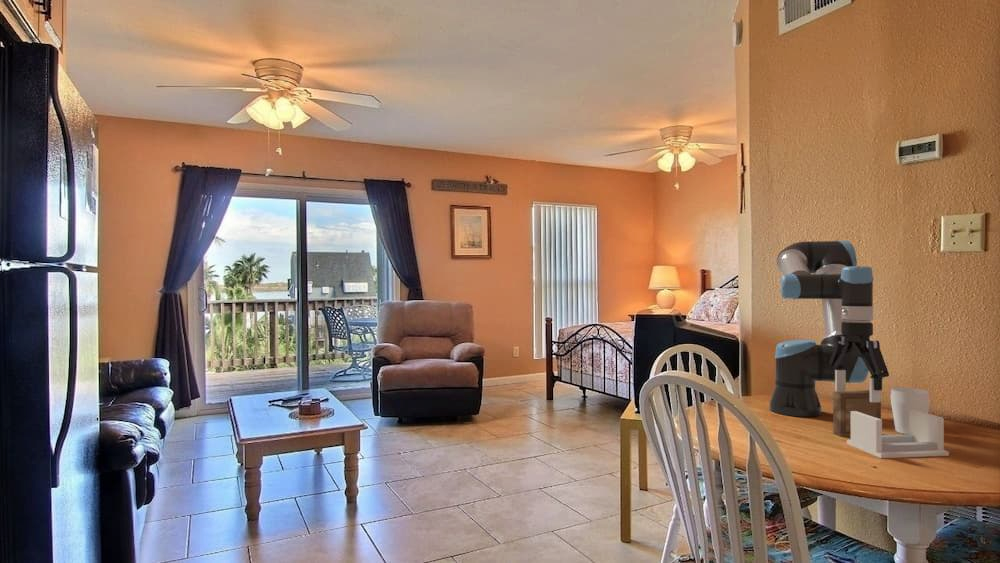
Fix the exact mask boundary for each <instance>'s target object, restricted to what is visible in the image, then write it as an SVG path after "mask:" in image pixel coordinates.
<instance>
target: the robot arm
mask: <svg viewBox="0 0 1000 563" xmlns="http://www.w3.org/2000/svg"><path fill="white" fill-rule="evenodd" d="M776 265H777V269H778V270H779V271H780V272H781V273H782V274H783V275H782V276H781V277H780V296H781V297H782V298H784V299H789V300H790V299H792V300H821V306H822V315H823V316H822V318H823V327H824V335H825V336H824V337H823V339H822V340H821V341H820V344H817V343H816V341H815V340H813V339H793V340H786V341H785V340H784V341H782V342H779V343H778V344H776V347H775V355H774V359H775V371H774V373H775V377H774V380H775V381H774V383H775V384H774V385H775V386H774V390H773V392H772V395H771V398H770V401H769V410H770V412H771V411H772V412H773V413H777V414H780V415H785V416H792V417H802V418H803V417H806V418H807V417H818V416H821V415H822V406H821V402H820V400H819V397H818V394H817V391H816V381H817V382H829V383H831V382H832V383H834V388H835V389H834V391H847V390H846V389H847V388H846V386H847V385H846V384H847V383H848V384H854V383H855V384H860V383H865V382H866V380H867V379H868V374H870V377H869V390H870V402H881V403H882V391H883V378H888V377H889V376H890V373H889V371H888V367H887V365H886V362H885V359H884V356H883V354H882V351H881V346H880V341H879V340H871V339H870V337H872V336H873V335H874V324H873V323H872V322H871V321H873V320H874V306H873V305H874V304H873V301H874V300H873V298H874V297H873V296H874V293H873V292H874V289H873V288H874V287H873V286H874V276H873V275H874V274H873V268H872V267H871V266H865V265H861V266H859V265H858V263H857V252H856V249H855V247H854V245H853V243H851V242H849V241H847V240H839V239H835V240H825V241H824V240H820V241H819V240H817V241H815V240H814V241H807V240H806V241H798V242H795V243H791V244H790V245H788V246H785V247H784V248H783V249H782V250H781V251H780V252H779V253H778V255H777V258H776ZM857 265H858V266H857Z"/></svg>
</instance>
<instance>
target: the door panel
mask: <svg viewBox="0 0 1000 563" xmlns="http://www.w3.org/2000/svg"><path fill="white" fill-rule="evenodd" d="M832 400H833V401H832V412H833V413H832V434H833V435H835V436H838V437H841V438H843V437H851V411H857V412H860V413H863V414H866V415H869V416H872V417H875V418H878V419H881V420H882V401H881V402H870V389H869V390H846V391H835V390H833V392H832Z"/></svg>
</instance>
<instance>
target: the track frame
mask: <svg viewBox="0 0 1000 563" xmlns="http://www.w3.org/2000/svg"><path fill="white" fill-rule="evenodd" d="M944 419H945V418H944V417H942V416H938V415H935V414H931V413H929V412H928V413H925V412H922V411H918V410H915V409H912V410H909V434H902V433H901V434H883V419H882V418H881V419H878V418H875V417H872V416H869V415H866V414H863V413H860V412H857V411H851V436H850V439H847V440H846V444H847V445H849V446H851V447H853V448H855V449H857V450H861V451H863V452H865V453H867V454H870V455H872V456H875V457H878V458H880V459H891V458H892V459H894V458H895V459H896V458H921V457H924V458H925V457H946V456H950V451H948V450H945V446H944V445H945V440H944V439H945V436H944V435H945V434H944V433H945V429H944V428H945V425H944V424H945V423H944V422H945V420H944Z"/></svg>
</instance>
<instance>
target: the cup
mask: <svg viewBox="0 0 1000 563" xmlns="http://www.w3.org/2000/svg"><path fill="white" fill-rule="evenodd" d="M890 403H891V404H890V405H891V410H892V411H891V412H892V417H893V423H894V424H893V425H894V429H895V432H897V433H899V434H901V435H902V434H909V410H912V409H915V410H918V411H922V412H925V413H929V411H930V405H931V401H930V391H928V390H925V389H921V388H914V387H900V386H899V387H891V390H890Z"/></svg>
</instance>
